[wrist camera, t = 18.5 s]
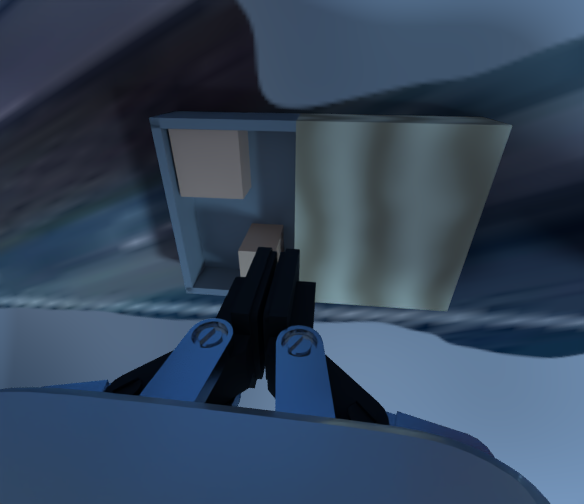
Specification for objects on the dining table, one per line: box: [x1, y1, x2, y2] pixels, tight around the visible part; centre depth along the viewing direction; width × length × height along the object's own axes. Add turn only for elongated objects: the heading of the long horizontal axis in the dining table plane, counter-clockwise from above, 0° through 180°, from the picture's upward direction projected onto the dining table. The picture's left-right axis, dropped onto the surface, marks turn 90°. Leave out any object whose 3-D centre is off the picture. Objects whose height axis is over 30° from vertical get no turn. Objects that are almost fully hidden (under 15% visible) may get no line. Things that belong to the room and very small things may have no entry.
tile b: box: [168, 129, 251, 199], centre depth 28 cm, size 6×6×4 cm
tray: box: [149, 111, 301, 296], centre depth 31 cm, size 12×18×5 cm, turn 0°
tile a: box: [238, 223, 284, 277], centre depth 32 cm, size 6×6×4 cm
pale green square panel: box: [294, 113, 513, 311], centre depth 30 cm, size 16×18×5 cm
